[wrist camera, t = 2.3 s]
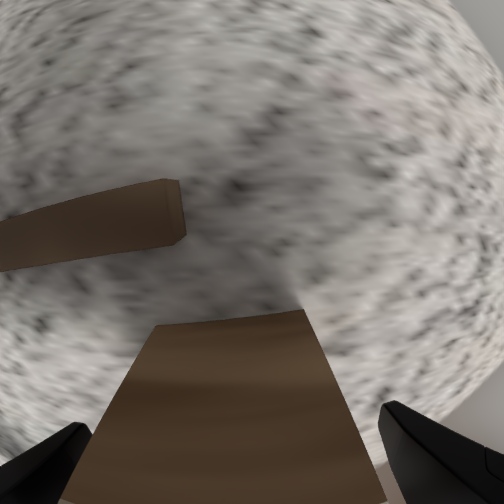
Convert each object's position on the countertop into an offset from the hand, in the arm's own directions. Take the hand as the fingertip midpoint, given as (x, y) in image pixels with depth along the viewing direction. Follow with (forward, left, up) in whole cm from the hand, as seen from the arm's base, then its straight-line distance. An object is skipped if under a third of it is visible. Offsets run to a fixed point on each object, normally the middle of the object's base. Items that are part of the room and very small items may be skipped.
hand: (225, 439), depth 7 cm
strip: (+6, +8, -5) cm, 11 cm away
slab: (0, 0, -5) cm, 5 cm away
